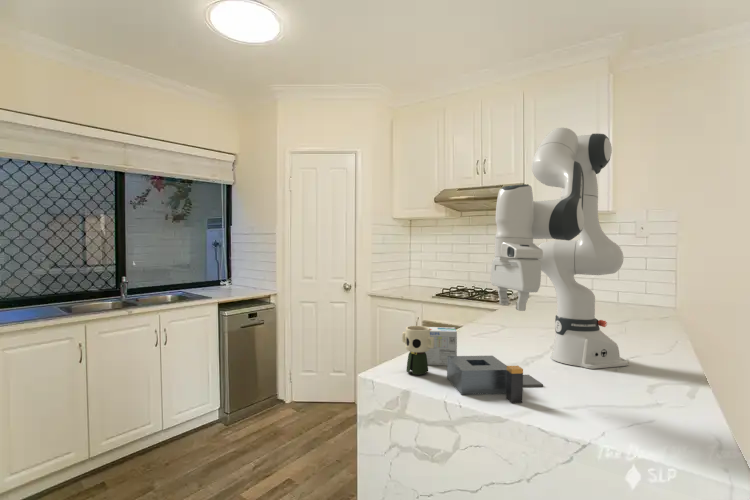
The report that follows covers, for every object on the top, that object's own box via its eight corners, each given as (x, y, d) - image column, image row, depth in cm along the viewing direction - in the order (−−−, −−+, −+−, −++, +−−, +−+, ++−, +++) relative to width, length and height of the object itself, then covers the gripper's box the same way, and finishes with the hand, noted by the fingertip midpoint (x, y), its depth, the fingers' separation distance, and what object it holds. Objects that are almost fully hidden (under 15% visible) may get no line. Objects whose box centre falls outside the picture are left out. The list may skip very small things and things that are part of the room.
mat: (528, 376, 116) (528, 374, 116) (542, 386, 108) (542, 384, 108) (501, 377, 115) (501, 375, 115) (513, 387, 107) (513, 384, 107)
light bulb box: (455, 360, 131) (455, 326, 131) (457, 366, 125) (457, 331, 125) (421, 359, 133) (422, 325, 132) (422, 365, 126) (422, 330, 126)
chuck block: (485, 371, 120) (485, 350, 120) (512, 393, 102) (512, 369, 102) (442, 372, 119) (442, 351, 119) (461, 394, 101) (461, 370, 101)
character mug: (394, 371, 119) (395, 327, 118) (409, 366, 124) (409, 323, 124) (426, 380, 112) (426, 332, 111) (440, 374, 117) (440, 328, 117)
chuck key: (517, 398, 99) (517, 365, 99) (522, 402, 97) (523, 369, 96) (506, 398, 99) (506, 365, 99) (511, 403, 96) (511, 369, 96)
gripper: (485, 250, 109) (483, 302, 109) (519, 250, 89) (517, 313, 89) (508, 251, 110) (506, 302, 110) (547, 251, 90) (545, 314, 90)
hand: (511, 307), depth 99 cm, fingers open, 8 cm apart
